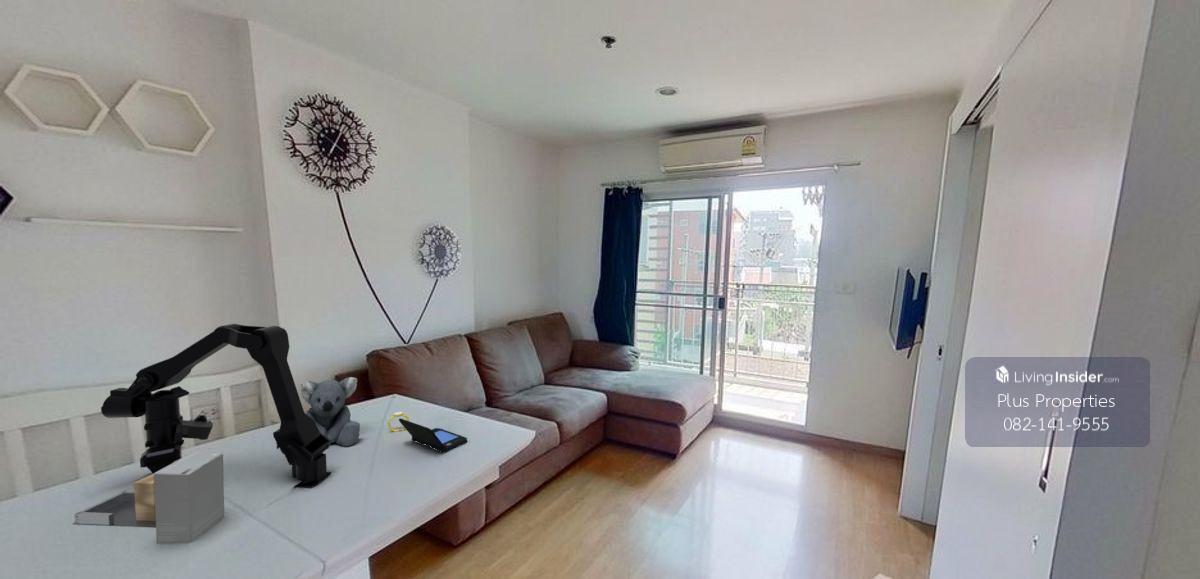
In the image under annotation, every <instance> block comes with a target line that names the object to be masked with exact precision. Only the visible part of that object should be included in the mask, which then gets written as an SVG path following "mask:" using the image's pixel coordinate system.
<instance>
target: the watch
mask: <svg viewBox="0 0 1200 579" xmlns="http://www.w3.org/2000/svg"><path fill="white" fill-rule="evenodd" d="M401 416H402V417H404V418H405V420H407V421H410V419H409V417H408V415H407V414H405V413H404V412H403V411H397V412H394V413H393V415H392V416H391V417H390V418H389V419H388V428H389V431H391V432H393V431H397V432H400V431H399V429H400V428H396V429H395V428H393V427H392V426H391V421H392V419H393V418H397V417H401ZM403 428H404V429H405V427H404V426H403ZM403 428H402V429H403ZM404 429H403V430H404ZM405 430H406V429H405ZM405 430H404V431H405Z"/></svg>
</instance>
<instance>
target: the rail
mask: <svg viewBox="0 0 1200 579" xmlns="http://www.w3.org/2000/svg"><path fill="white" fill-rule="evenodd" d="M73 517H74V523H72V525H78V526H79V525H83V526H104V527H105V526H106V527H107V526H109V527H128V528H130V527H131V528H134V527H135V528H152V529H156V521H142V520H136V510H135V495H134V490H124V491H121V492H119V493H117V494H115V495H112V496H110V497H108V498H106V499H104V500H101V501H99V502H97V503H96V504H93V505H91V506H89V507H87V508H84V509H83V510H80V511H78V512H76V513H74V516H73Z"/></svg>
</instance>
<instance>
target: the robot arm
mask: <svg viewBox="0 0 1200 579" xmlns="http://www.w3.org/2000/svg"><path fill="white" fill-rule="evenodd" d="M289 339H290V338H289V335H288V332H287V330H286V329H285V328H284V327H281V326H279V325H272V326H271V325H269V326H261V325H260V326H259V325H257V326H256V325H244V324H238V323H230V324H226V325H219V326H218V327H216V328H215V329H214V330H213V331H212V332H210V333H209V334H207V335H206V336H204V337H202V338H201V339H199V340H198V341H196V342H194V343H192V344H191V345H189V346H188V347H187V348H184V349H183V350H182V351H180V352H178V353H177V354H175V355H174V356H172V357H170V358H167V359H163V360H162V361H158V362H156V363H153V364H150V365H148V366H146V367H144V368H141V369H140V370H138V371H137V373H136V374H135V377H136V378H135V380H134V381H133V382H132V383H131V384H130V386H129V387H128V388H125V387H118V388H115V389H111V390H110V391H109V396H107V397H106V398H105V400H104V401H103V404H102V406H101V407H100V411H101V414H102V415H103V417H106V418H109V419H117V418H123V419H125V418H140V417H143V416H144V422H145V423H144V426H143V430H144V431H145V437H146V438H145V439H146V441H145V443H144V446H145V448H147V449H146V450H145V451H144V452H143V453H141V456H140V458H139V466H140V468H147V469H148V470H149V471H150V472H151V473H155V472H157V471H159V470H161V469H163V468H165V467H166V466H168V465H170V464H172V463H173V462H174V461H176V460H178V459H181V454H182V452H183V451H182V446H183V445H184V443H185V439H196V440H197V439H198V440H200V441H201V440H202V441H205V440H206V441H207V440H208V439H209V436H210V434H211V431H212V429H213V426H214V422H212V420H209V421H208V419H207V415H206V414H205V415H202V414H198V415H197V416H196V417H195V418H194V419H190V420H184V417H183V415H182V414H181V412H180V398H182V397H185V396H188V395H189V394H190V391H188V390H187V389H184V388H182V387H181V386H176V387H175V386H174V385H177V384H180V382H182V381H183V380H184V379H185V378H186V377H187V376H188V375H190V373H191V372H192V370H193V369H194V367H196V365H198V364H200V363H201V362H203V361H205V360H206V359H208V358H209V357H211V356H213V355H214V354H216V353H218V352H219V351H221V350H222V349H223V348H225V347H227V346H229V345H230V346H233V347H235V348H237V349H238V348H240V349H245V350H247V351H248V354H249V356H250V357H251V359H253V361H255V362H256V363H257V364H258V365H260V366H261V367H262V370H263V372H264V375H265V376H264V377H265V379H266V382H267V383H268V387H269V390H270V393H271V396H272V399H273V402H274V406H275V408H276V411H277V416H278V417H279V420H280V425H279V428H278V429H277V430H275V431H274V432H273V433H272V434H273V439H274V441H275V442H276V449H277V450H280V452H281V453H282V454H283V455H284V457H285V458H286V461H287V463H288V465H289V466H291V477H292V478H293V479H296V480H297V481H300V482H297V484H295V485H294V487H295V488H296V487H298V488H314V487H316V486H318V485H319V484H320V483H321V482H323V481H324V480H326V479H327V478H328V477H330V476H331V475H332V472H331V471H327V454H326V453H324V452H326V450H328V449H329V448H330V445H331V441H330V440H329V439H327V438H326V437H325V436H324V435H323V434H321V433H320V431H319V429H318V427H317V426H316V424H315V422H314V420H313V419H311V418H310V417H309V416H308V415H306V412H305V410H304V406H303V405H302V401H301V398H300V395H299V392H298V390H297V386H296V384H295V380H294V378H293V375H292V371H291V368H290V365H289V363H288V362H289V361H288V355H289V350H290V340H289ZM171 386H174V387H173V388H171V389H165V388H167V387H171ZM155 391H156V392H155ZM152 392H154V393H152Z"/></svg>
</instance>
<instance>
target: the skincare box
mask: <svg viewBox="0 0 1200 579" xmlns="http://www.w3.org/2000/svg"><path fill="white" fill-rule="evenodd" d="M153 474H154V493H155V515H156V528H155V532H156V533H155V534H156V535H155V536H156V544H157V545H165V544H166V545H169V544H170V545H171V544H188V543H193V542H194V541H195V540H196V539H198V538H199V537H201V536H202V535H204V534H205V533H206V532H208V531H209V530H210V529H211V528H213V527H214V526H215V525H217V524H218V523H219V522H220V521H221V520H223V519H224V518H225V486H224V485H225V484H224V482H225V481H224V479H225V478H224V453H223V452H201V451H200V452H198V451H197V452H190V453H188V454H187V455H185V456H182V458H181V459H179V460H177V461H176V462H174V463H172V464H170V465H168V466H166V467H165V468H163V469H161V470H159V471H157V472H155V473H153Z"/></svg>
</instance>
